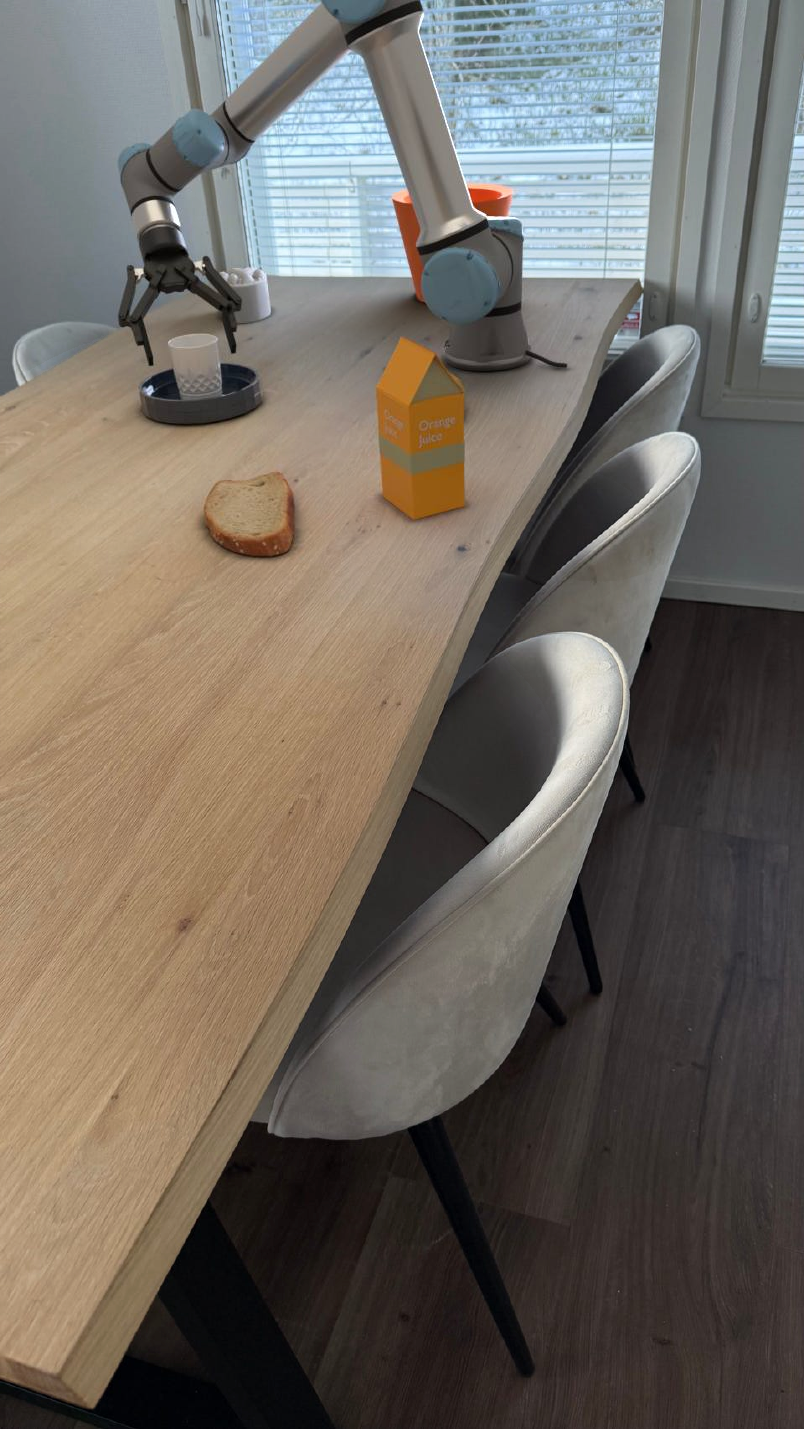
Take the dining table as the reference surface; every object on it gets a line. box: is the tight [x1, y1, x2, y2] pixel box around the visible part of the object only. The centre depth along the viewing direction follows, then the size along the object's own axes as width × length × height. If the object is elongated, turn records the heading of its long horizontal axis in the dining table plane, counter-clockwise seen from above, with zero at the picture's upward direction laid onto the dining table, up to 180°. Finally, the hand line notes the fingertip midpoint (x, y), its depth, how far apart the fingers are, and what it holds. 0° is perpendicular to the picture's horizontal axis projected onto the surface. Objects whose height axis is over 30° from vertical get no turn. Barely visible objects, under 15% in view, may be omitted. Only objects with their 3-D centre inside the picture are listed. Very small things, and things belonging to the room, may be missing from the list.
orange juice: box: [375, 335, 466, 521], centre depth 124 cm, size 8×9×20 cm
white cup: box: [167, 333, 223, 400], centre depth 162 cm, size 8×8×10 cm
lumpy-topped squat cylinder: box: [217, 266, 272, 324], centre depth 208 cm, size 10×13×9 cm
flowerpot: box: [391, 182, 515, 304], centre depth 210 cm, size 25×25×20 cm
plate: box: [137, 362, 264, 425], centre depth 164 cm, size 20×20×4 cm
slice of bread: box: [203, 470, 295, 557], centre depth 127 cm, size 18×18×4 cm
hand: (193, 355), depth 162 cm, fingers open, 13 cm apart
